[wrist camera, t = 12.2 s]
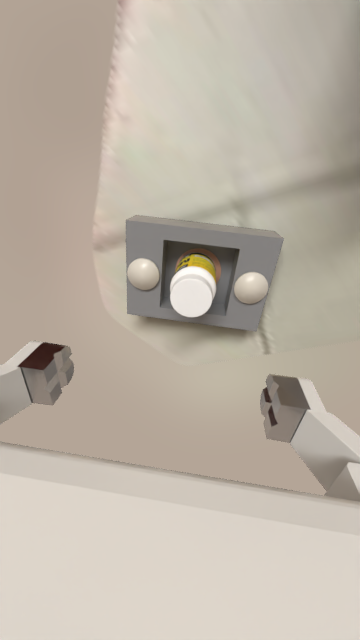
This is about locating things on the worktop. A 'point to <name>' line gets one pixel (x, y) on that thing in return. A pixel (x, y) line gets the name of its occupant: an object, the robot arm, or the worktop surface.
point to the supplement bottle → (193, 285)
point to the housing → (224, 250)
